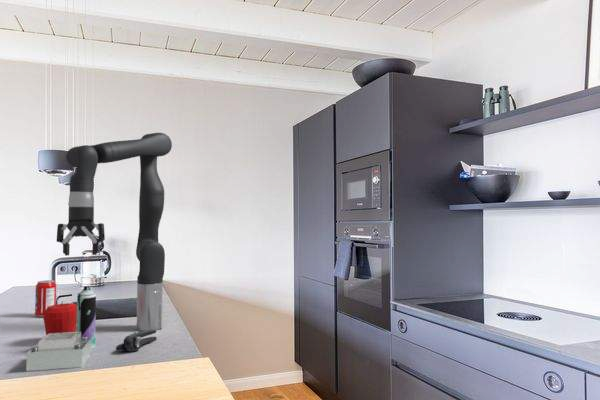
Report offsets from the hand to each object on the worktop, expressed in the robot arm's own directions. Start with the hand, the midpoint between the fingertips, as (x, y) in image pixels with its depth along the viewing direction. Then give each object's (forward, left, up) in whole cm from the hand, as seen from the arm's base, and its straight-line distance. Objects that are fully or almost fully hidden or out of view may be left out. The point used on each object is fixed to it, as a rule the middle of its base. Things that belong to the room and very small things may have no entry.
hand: (80, 255), depth 147 cm
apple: (+8, -9, -30) cm, 32 cm away
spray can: (-2, +2, -30) cm, 30 cm away
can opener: (-19, +4, -30) cm, 36 cm away
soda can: (+25, -55, -30) cm, 67 cm away
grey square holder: (+2, +16, -30) cm, 34 cm away
